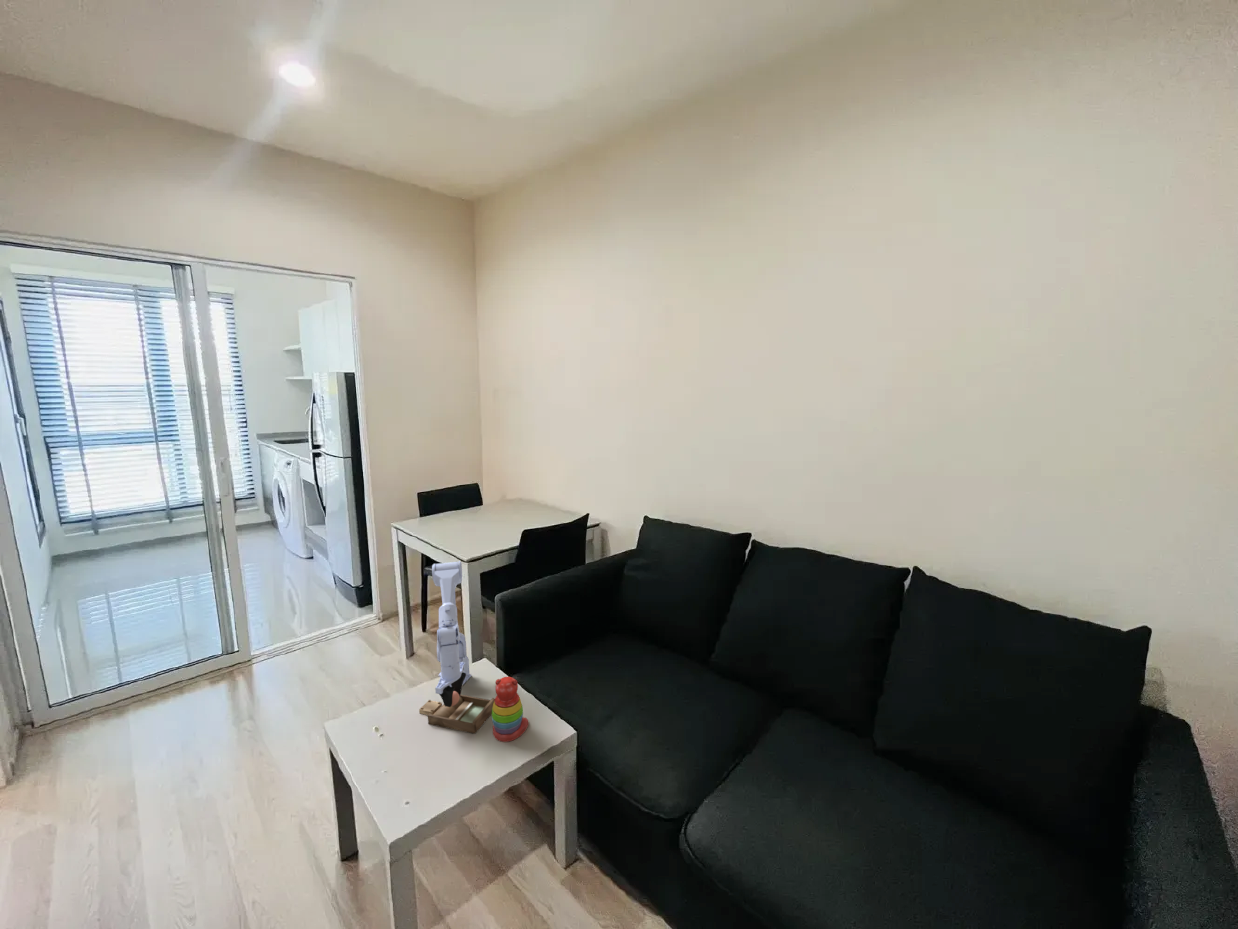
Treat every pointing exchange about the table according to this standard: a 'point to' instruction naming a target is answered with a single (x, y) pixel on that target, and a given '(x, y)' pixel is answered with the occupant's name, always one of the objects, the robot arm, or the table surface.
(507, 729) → the stacking bear
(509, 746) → the table surface
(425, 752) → the table surface
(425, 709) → the wooden footed board
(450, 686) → the robot arm
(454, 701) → the ball
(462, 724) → the wooden tray
